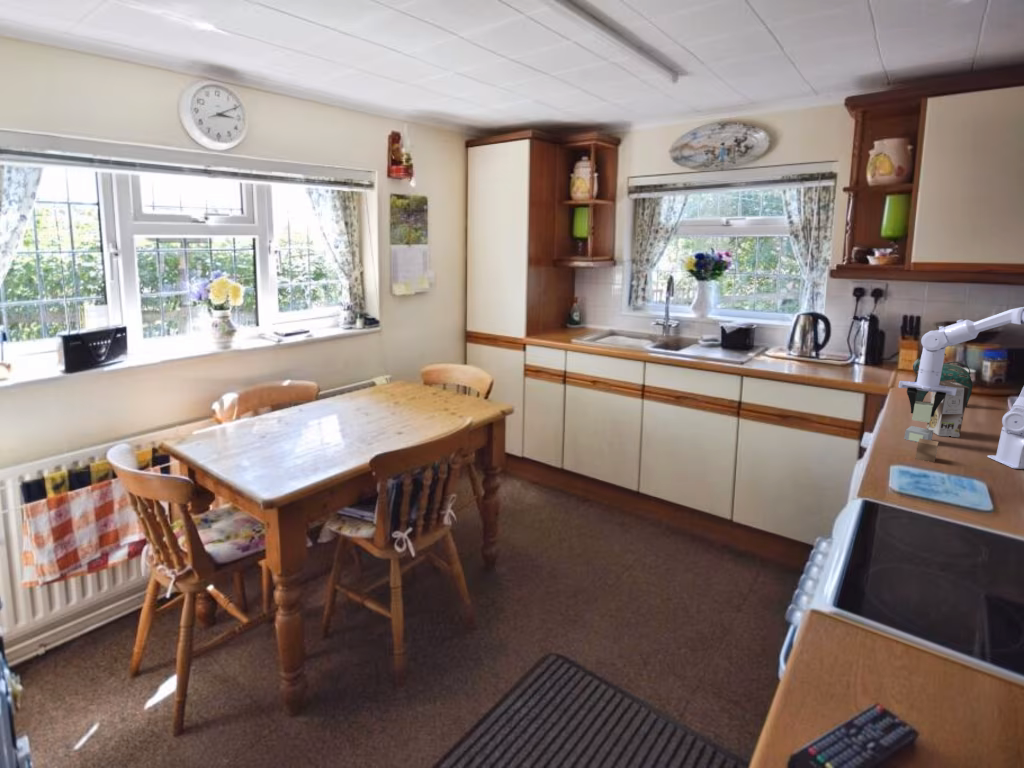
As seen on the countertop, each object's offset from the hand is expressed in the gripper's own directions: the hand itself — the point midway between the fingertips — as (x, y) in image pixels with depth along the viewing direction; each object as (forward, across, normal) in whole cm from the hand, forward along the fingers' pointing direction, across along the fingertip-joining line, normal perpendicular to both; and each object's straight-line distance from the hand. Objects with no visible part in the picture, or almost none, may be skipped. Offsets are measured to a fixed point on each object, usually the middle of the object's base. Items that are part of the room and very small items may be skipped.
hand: (922, 414), depth 193 cm
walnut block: (+8, +4, -18) cm, 20 cm away
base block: (+9, 0, +1) cm, 9 cm away
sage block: (+2, 0, 0) cm, 2 cm away
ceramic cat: (+9, +1, +58) cm, 58 cm away
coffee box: (+8, +6, +15) cm, 18 cm away
